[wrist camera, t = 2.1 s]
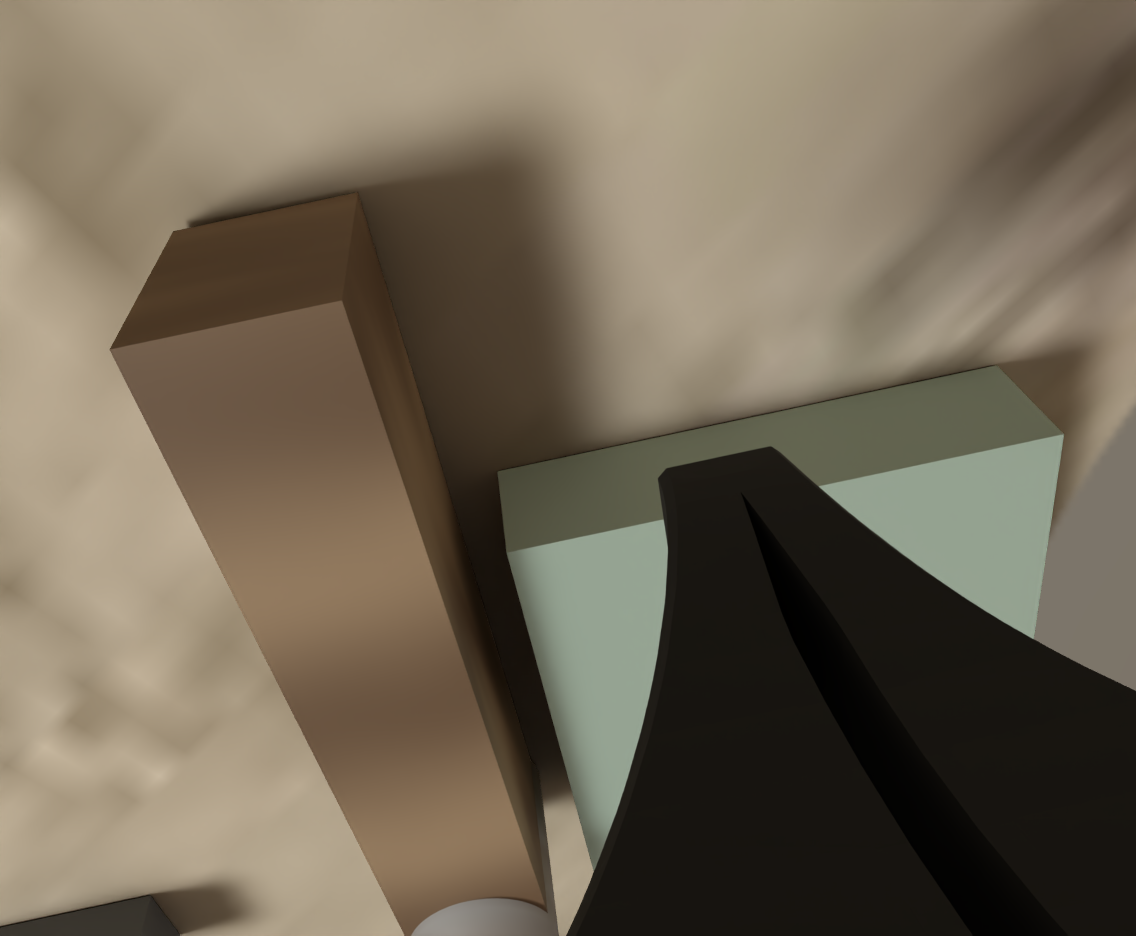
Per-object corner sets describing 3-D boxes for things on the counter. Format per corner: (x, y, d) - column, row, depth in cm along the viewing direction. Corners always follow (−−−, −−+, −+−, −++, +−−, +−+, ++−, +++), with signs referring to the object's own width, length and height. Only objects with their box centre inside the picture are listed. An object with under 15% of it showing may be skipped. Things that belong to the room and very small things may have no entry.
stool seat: (964, 702, 25) (1012, 783, 23) (580, 783, 25) (594, 872, 23) (996, 365, 20) (1063, 434, 17) (497, 471, 19) (506, 552, 17)
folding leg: (550, 812, 25) (570, 973, 22) (428, 838, 25) (429, 1002, 22) (363, 191, 16) (349, 305, 12) (167, 232, 16) (97, 359, 12)
